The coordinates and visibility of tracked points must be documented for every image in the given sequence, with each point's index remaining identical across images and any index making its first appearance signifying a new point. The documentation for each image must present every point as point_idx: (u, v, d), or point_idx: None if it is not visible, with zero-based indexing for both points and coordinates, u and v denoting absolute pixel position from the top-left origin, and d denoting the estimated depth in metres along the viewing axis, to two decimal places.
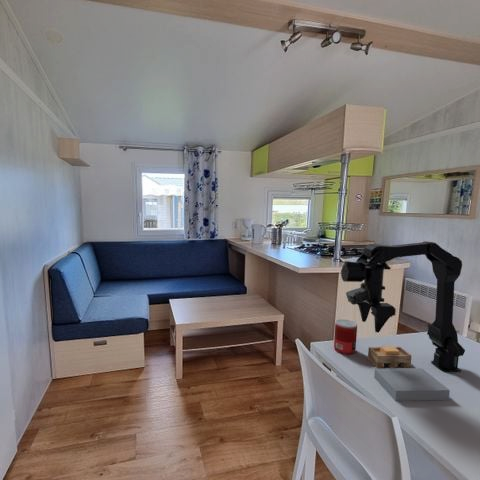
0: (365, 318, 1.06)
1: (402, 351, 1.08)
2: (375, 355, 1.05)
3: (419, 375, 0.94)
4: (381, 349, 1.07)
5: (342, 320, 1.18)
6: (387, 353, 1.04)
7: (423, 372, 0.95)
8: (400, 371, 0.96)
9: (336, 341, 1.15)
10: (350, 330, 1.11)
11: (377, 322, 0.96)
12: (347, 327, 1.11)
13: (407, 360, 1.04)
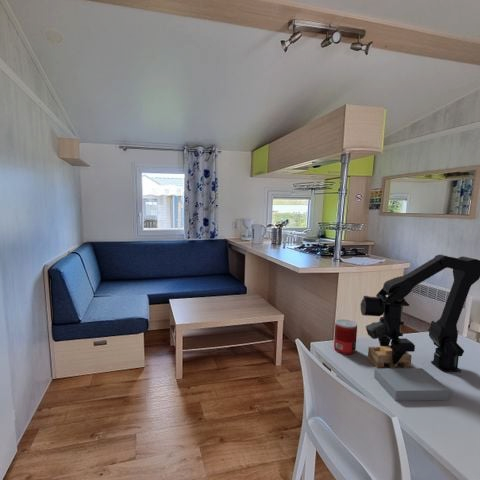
0: None
1: None
2: (375, 355, 1.05)
3: (419, 375, 0.94)
4: (381, 349, 1.07)
5: (342, 320, 1.18)
6: (387, 353, 1.04)
7: (423, 372, 0.95)
8: (400, 371, 0.96)
9: (336, 341, 1.15)
10: (350, 330, 1.11)
11: (395, 355, 1.02)
12: (347, 327, 1.11)
13: (407, 360, 1.04)
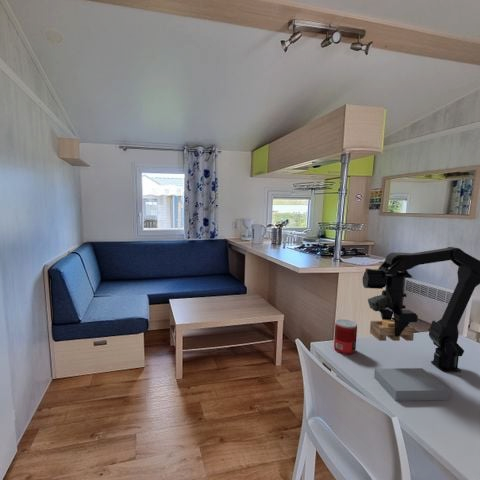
0: None
1: None
2: (377, 328, 1.03)
3: (419, 375, 0.94)
4: (383, 322, 1.06)
5: (342, 320, 1.18)
6: (389, 325, 1.03)
7: (423, 372, 0.95)
8: (400, 371, 0.96)
9: (336, 341, 1.15)
10: (350, 330, 1.11)
11: (397, 327, 1.00)
12: (347, 327, 1.11)
13: (410, 332, 1.02)
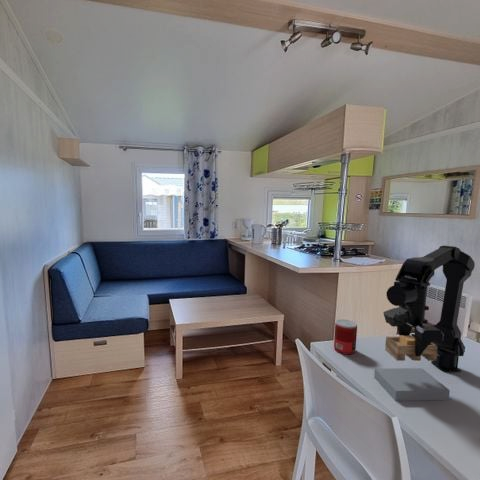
0: None
1: None
2: (395, 345, 0.90)
3: (419, 375, 0.94)
4: (401, 339, 0.92)
5: (342, 320, 1.18)
6: (409, 343, 0.90)
7: (423, 372, 0.95)
8: (400, 371, 0.96)
9: (336, 341, 1.15)
10: (350, 330, 1.11)
11: (418, 345, 0.87)
12: (347, 327, 1.12)
13: (432, 351, 0.89)
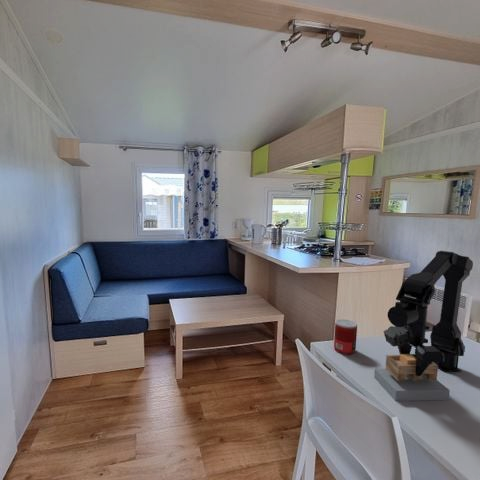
0: None
1: None
2: (395, 365, 0.89)
3: None
4: (401, 357, 0.92)
5: (342, 320, 1.18)
6: (409, 362, 0.89)
7: None
8: None
9: (336, 341, 1.15)
10: (350, 330, 1.11)
11: (419, 365, 0.86)
12: (347, 327, 1.11)
13: (433, 371, 0.88)
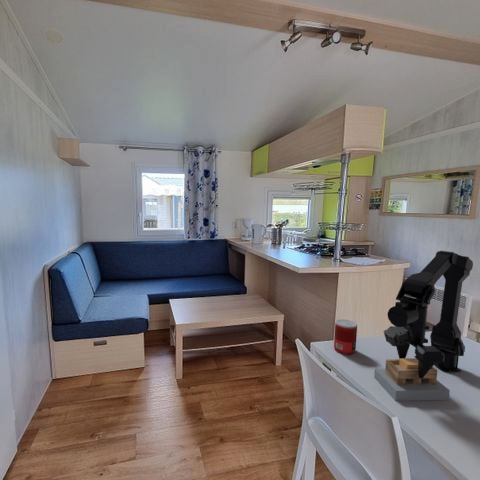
0: None
1: None
2: (395, 369, 0.89)
3: None
4: (401, 362, 0.92)
5: (342, 320, 1.18)
6: (409, 367, 0.89)
7: None
8: None
9: (336, 341, 1.15)
10: (350, 330, 1.11)
11: (422, 367, 0.85)
12: (347, 327, 1.11)
13: (432, 375, 0.88)
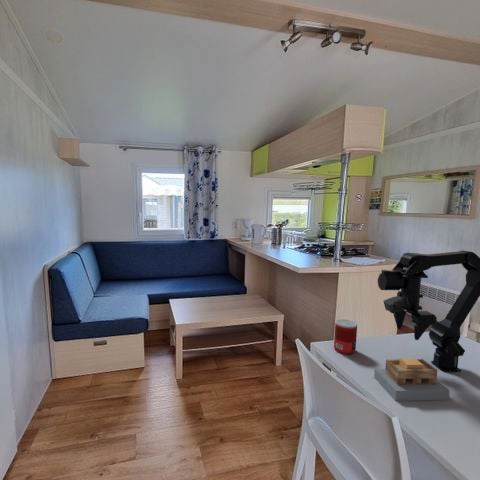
0: (400, 325, 1.08)
1: (425, 364, 0.92)
2: (395, 369, 0.89)
3: None
4: (401, 362, 0.92)
5: (342, 320, 1.18)
6: (409, 367, 0.89)
7: None
8: None
9: (336, 341, 1.15)
10: (350, 330, 1.11)
11: (417, 330, 0.97)
12: (347, 327, 1.11)
13: (432, 375, 0.88)
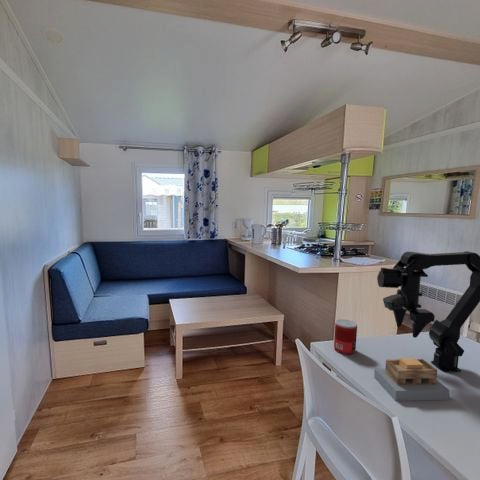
0: (400, 323, 1.09)
1: (425, 364, 0.92)
2: (395, 369, 0.89)
3: None
4: (401, 362, 0.92)
5: (342, 320, 1.18)
6: (409, 367, 0.89)
7: None
8: None
9: (336, 341, 1.15)
10: (350, 330, 1.11)
11: (415, 328, 0.99)
12: (347, 327, 1.11)
13: (432, 375, 0.88)
